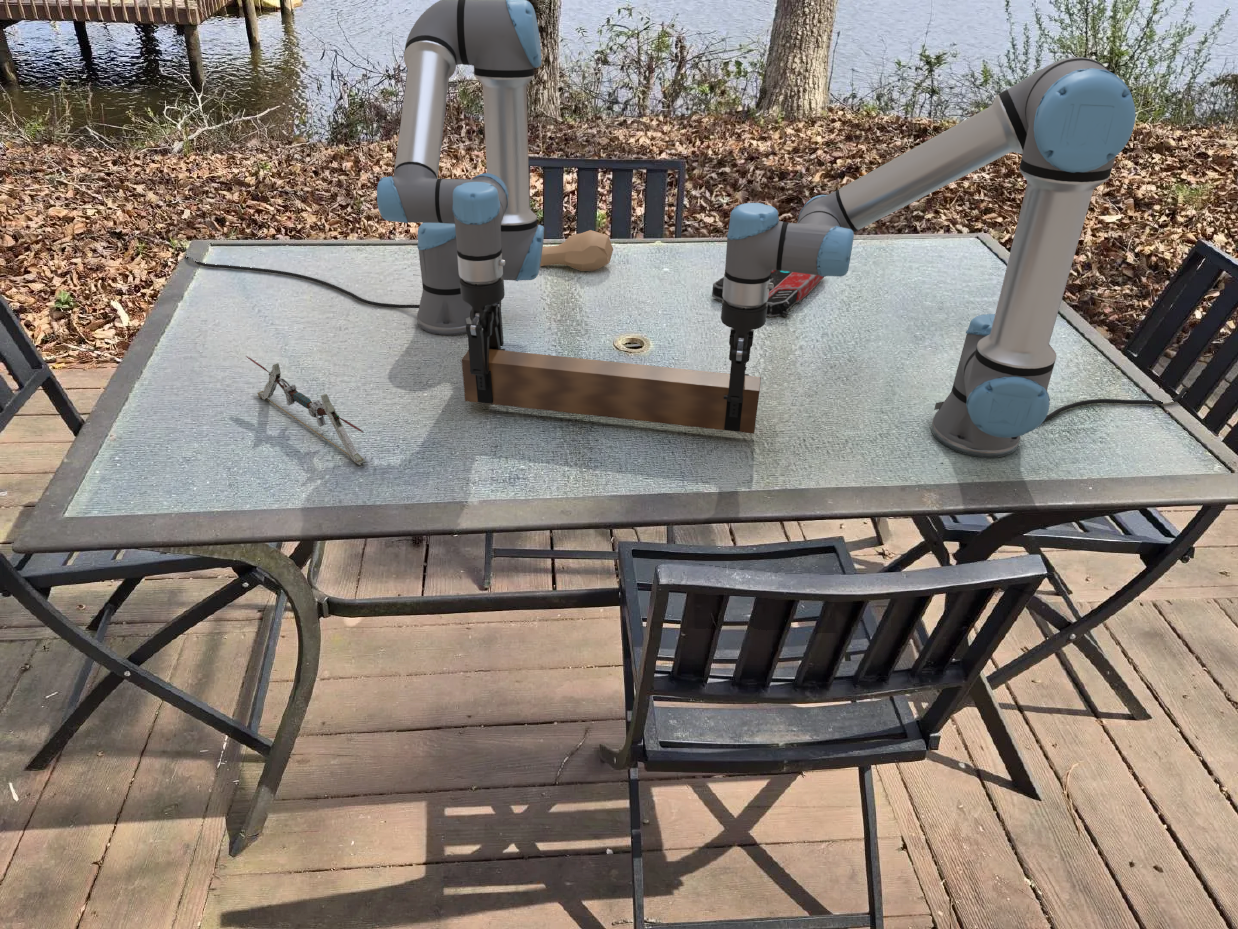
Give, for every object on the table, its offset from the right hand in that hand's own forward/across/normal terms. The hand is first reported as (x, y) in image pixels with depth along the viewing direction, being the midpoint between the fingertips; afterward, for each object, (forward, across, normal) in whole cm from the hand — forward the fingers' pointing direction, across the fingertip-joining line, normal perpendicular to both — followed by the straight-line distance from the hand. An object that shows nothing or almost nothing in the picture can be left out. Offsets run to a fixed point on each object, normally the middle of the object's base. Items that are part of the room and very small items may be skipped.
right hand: (733, 420), depth 158 cm
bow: (+2, -14, +75) cm, 76 cm away
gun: (+3, +70, -5) cm, 70 cm away
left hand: (0, 0, +45) cm, 45 cm away
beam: (0, 0, +23) cm, 23 cm away
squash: (+3, +75, +46) cm, 88 cm away
